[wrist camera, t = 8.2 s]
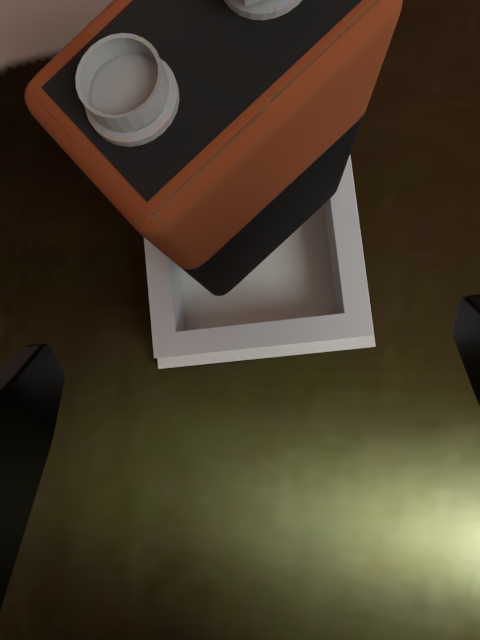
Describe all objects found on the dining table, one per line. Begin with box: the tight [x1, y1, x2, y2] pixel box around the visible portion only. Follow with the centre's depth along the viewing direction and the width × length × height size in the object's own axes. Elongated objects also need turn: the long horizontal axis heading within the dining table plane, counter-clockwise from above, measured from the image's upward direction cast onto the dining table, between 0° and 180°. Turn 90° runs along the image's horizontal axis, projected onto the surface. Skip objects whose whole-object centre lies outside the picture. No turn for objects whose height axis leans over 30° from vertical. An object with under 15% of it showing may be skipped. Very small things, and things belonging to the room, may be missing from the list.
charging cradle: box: [144, 156, 376, 369], centre depth 18 cm, size 13×10×3 cm
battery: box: [25, 0, 403, 296], centre depth 11 cm, size 4×7×10 cm, turn 132°
